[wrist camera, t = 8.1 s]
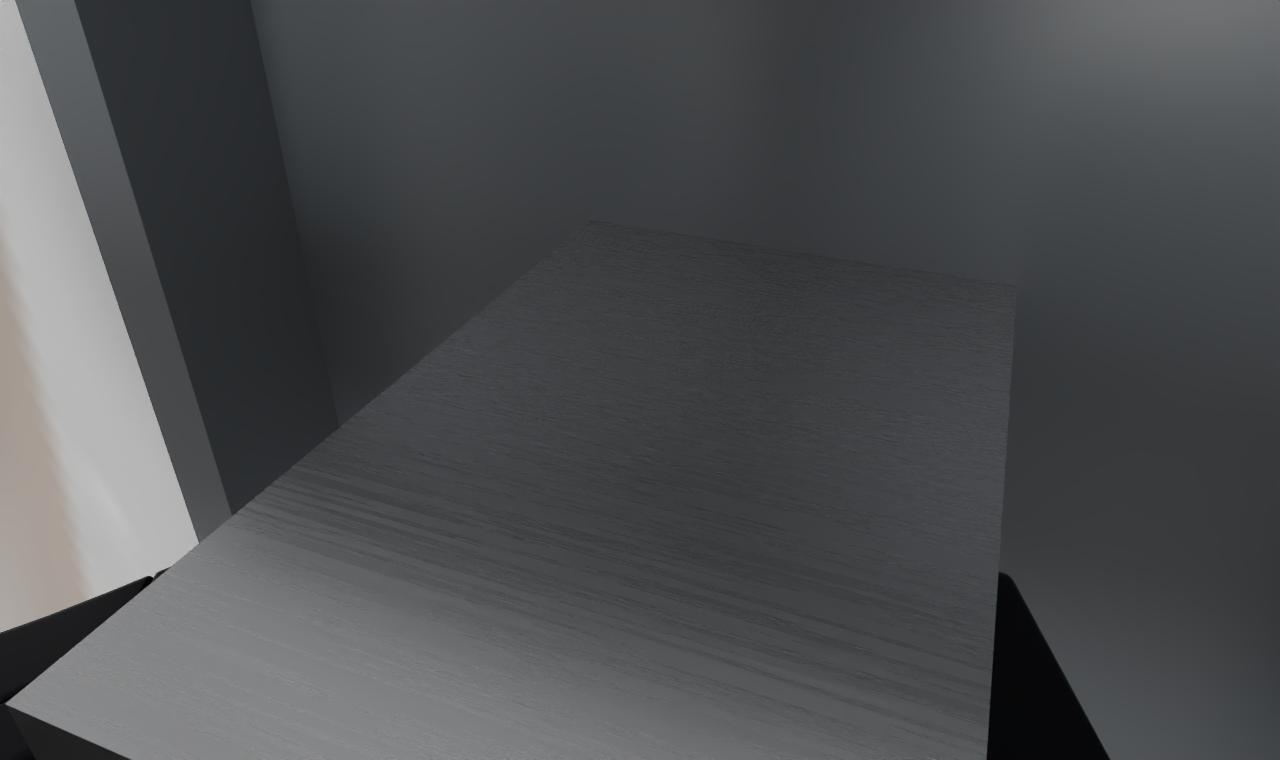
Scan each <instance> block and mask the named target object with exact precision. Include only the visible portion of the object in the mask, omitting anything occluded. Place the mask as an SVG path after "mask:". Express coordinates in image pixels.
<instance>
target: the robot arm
mask: <svg viewBox="0 0 1280 760" xmlns="http://www.w3.org/2000/svg"><path fill="white" fill-rule="evenodd" d="M169 568H170V567H169ZM169 568H166V569H164V570H161V571H159V572H157V573H156V575H155V576H154V578H153V577H151V576H146V577H144V578H142V579H139V580H137V581H134V582H132V583H130V584H127V585H125V586H122V587H120V588H117V589H115V590H112V591H110V592H107V593H105V594H102V595H100V596H97V597H95V598H92V599H90V600H87V601H84V602H82V603H79V604H77V605H74V606H72V607H69V608H67V609H64V610H61V611H59V612H56V613H54V614H51V615H49V616H46V617H43V618H40V619H38V620H35V621H32V622H29V623H27V624H24V625H21V626H18V627H15V628H13V629H10V630H7V631H4V632H1V633H0V760H36V758H35V756H34V755H33V753H32V751H31V749H30V748H29V746H28V744H27V742H26V740H25V739H24V737H23V735H22V733H21V732H20V730H19V728H18V726H17V724H16V723H15V721H14V719H13V717H12V716H11V714H10V712H9V710H8V708H7V707H6V705H5V704H6V703H7V702H8V701H9V700H10V699H12V698H13V697H14V696H15V695H17V694H18V693H19V692H20V691H21V690H23V689H24V688H25V687H26V686H27V685H29V684H30V683H31V682H32V681H33V680H35V679H36V678H37V677H38V676H40V675H41V674H42V673H43V672H44V671H46V670H47V669H48V668H49V667H50V666H52V665H53V664H54V663H55V662H56V661H58V660H59V659H60V658H61V657H63V656H64V655H65V654H66V653H67V652H69V651H70V650H71V649H72V648H73V647H75V646H76V645H77V644H78V643H79V642H81V641H82V640H83V639H84V638H86V637H87V636H88V635H89V634H90V633H92V632H93V631H94V630H95V629H96V628H98V627H99V626H100V625H101V624H102V623H104V622H105V621H106V620H107V619H109V618H110V617H111V616H112V615H113V614H115V613H116V612H117V611H118V610H119V609H121V608H122V607H123V606H124V605H125V604H127V603H128V602H129V601H130V600H132V599H133V598H134V597H135V596H136V595H138V594H139V593H140V592H141V591H142V590H144V589H145V588H146V587H147V586H148V585H150V584H151V583H152V582H153V581H155V580H156V579H157V578H158V577H159V576H161V575H162V574H163V573H164V572H165V571H167V570H168V569H169ZM986 760H1110V758H1109V756H1108V754H1107V752H1106V750H1105V749H1104V747H1103V745H1102V743H1101V741H1100V739H1099V737H1098V736H1097V734H1096V732H1095V730H1094V728H1093V726H1092V725H1091V723H1090V721H1089V719H1088V717H1087V715H1086V713H1085V712H1084V710H1083V708H1082V706H1081V704H1080V702H1079V700H1078V699H1077V697H1076V695H1075V693H1074V691H1073V689H1072V688H1071V686H1070V684H1069V682H1068V680H1067V678H1066V676H1065V675H1064V673H1063V671H1062V669H1061V667H1060V665H1059V664H1058V662H1057V660H1056V658H1055V656H1054V654H1053V652H1052V651H1051V649H1050V647H1049V645H1048V643H1047V641H1046V639H1045V638H1044V636H1043V634H1042V632H1041V630H1040V628H1039V627H1038V625H1037V623H1036V621H1035V619H1034V617H1033V615H1032V614H1031V612H1030V610H1029V608H1028V606H1027V604H1026V603H1025V601H1024V599H1023V597H1022V595H1021V593H1020V591H1019V590H1018V588H1017V586H1016V584H1015V582H1014V581H1013V579H1012V578H1011V577H1010V576H1009V575H1007V574H1005V573H1002V572H998V587H997V602H996V618H995V633H994V649H993V664H992V680H991V695H990V711H989V726H988V742H987V758H986Z"/></svg>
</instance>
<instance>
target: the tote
mask: <svg viewBox="0 0 1280 760" xmlns="http://www.w3.org/2000/svg"><path fill="white" fill-rule="evenodd" d="M15 1H16V4H17V7H18V10H19V13H20V16H21V19H22V22H23V25H24V28H25V31H26V33H27V36H28V39H29V42H30V45H31V48H32V51H33V54H34V57H35V60H36V63H37V66H38V69H39V72H40V75H41V78H42V81H43V84H44V87H45V90H46V93H47V96H48V98H49V101H50V104H51V107H52V110H53V113H54V116H55V119H56V122H57V125H58V128H59V131H60V134H61V137H62V140H63V143H64V146H65V149H66V152H67V155H68V158H69V161H70V163H71V166H72V169H73V172H74V175H75V178H76V181H77V184H78V187H79V190H80V193H81V196H82V199H83V202H84V205H85V208H86V211H87V214H88V217H89V220H90V223H91V225H92V228H93V231H94V234H95V237H96V240H97V243H98V246H99V249H100V252H101V255H102V258H103V261H104V264H105V267H106V270H107V273H108V276H109V279H110V282H111V285H112V288H113V290H114V293H115V296H116V299H117V302H118V305H119V308H120V311H121V314H122V317H123V320H124V323H125V326H126V329H127V332H128V335H129V338H130V341H131V344H132V347H133V350H134V352H135V355H136V358H137V361H138V364H139V367H140V370H141V373H142V376H143V379H144V382H145V385H146V388H147V391H148V394H149V397H150V400H151V403H152V406H153V409H154V412H155V415H156V417H157V420H158V423H159V426H160V429H161V432H162V435H163V438H164V441H165V444H166V447H167V450H168V453H169V456H170V459H171V462H172V465H173V468H174V471H175V474H176V477H177V479H178V482H179V485H180V488H181V491H182V494H183V497H184V500H185V503H186V506H187V509H188V512H189V515H190V518H191V521H192V524H193V527H194V530H195V533H196V536H197V539H198V542H199V543H201V542H202V541H203V540H204V539H205V538H207V537H208V536H209V535H210V534H211V533H213V532H214V531H215V530H216V529H217V528H219V527H220V526H221V525H222V524H224V523H225V522H226V521H227V520H228V519H230V518H231V517H232V516H233V515H234V514H236V513H237V512H238V511H239V510H240V509H242V508H243V507H244V506H245V505H247V504H248V503H249V502H250V501H251V500H253V499H254V498H255V497H256V496H257V495H259V494H260V493H261V492H262V491H263V490H265V489H266V488H267V487H268V486H270V485H271V484H272V483H273V482H274V481H276V480H277V479H278V478H279V477H280V476H282V475H283V474H284V473H285V472H286V471H288V470H289V469H290V468H291V467H293V466H294V465H295V464H296V463H297V462H299V461H300V460H301V459H302V458H303V457H305V456H306V455H307V454H308V453H309V452H311V451H312V450H313V449H314V448H316V447H317V446H318V445H319V444H320V443H322V442H323V441H324V440H325V439H326V438H328V437H329V436H330V435H331V434H332V433H334V432H335V431H336V430H337V429H339V428H340V427H341V426H342V425H343V424H345V423H346V422H347V421H348V420H349V419H351V418H352V417H353V416H354V415H355V414H357V413H358V412H359V411H360V410H362V409H363V408H364V407H365V406H366V405H368V404H369V403H370V402H371V401H372V400H374V399H375V398H376V397H377V396H378V395H380V394H381V393H382V392H383V391H385V390H386V389H387V388H388V387H389V386H391V385H392V384H393V383H394V382H395V381H397V380H398V379H399V378H400V377H401V376H403V375H404V374H405V373H406V372H408V371H409V370H410V369H411V368H412V367H414V366H415V365H416V364H417V363H418V362H420V361H421V360H422V359H423V358H424V357H426V356H427V355H428V354H429V353H431V352H432V351H433V350H434V349H435V348H437V347H438V346H439V345H440V344H441V343H443V342H444V341H445V340H446V339H447V338H449V337H450V336H451V335H452V334H454V333H455V332H456V331H457V330H458V329H460V328H461V327H462V326H463V325H464V324H466V323H467V322H468V321H469V320H470V319H472V318H473V317H474V316H475V315H477V314H478V313H479V312H480V311H481V310H483V309H484V308H485V307H486V306H487V305H489V304H490V303H491V302H492V301H493V300H495V299H496V298H497V297H498V296H500V295H501V294H502V293H503V292H504V291H506V290H507V289H508V288H509V287H510V286H512V285H513V284H514V283H515V282H516V281H518V280H519V279H520V278H521V277H522V276H524V275H525V274H526V273H527V272H529V271H530V270H531V269H532V268H533V267H535V266H536V265H537V264H538V263H539V262H541V261H542V260H543V259H544V258H545V257H547V256H548V255H549V254H550V253H552V252H553V251H554V250H555V249H556V248H558V247H559V246H560V245H561V244H562V243H564V242H565V241H566V240H567V239H568V238H570V237H571V236H572V235H573V234H575V233H576V232H577V231H578V230H579V229H581V228H582V227H583V226H584V225H585V224H587V223H588V222H589V221H590V220H595V221H602V222H608V223H615V224H621V225H628V226H635V227H641V228H648V229H654V230H661V231H667V232H674V233H680V234H687V235H693V236H700V237H706V238H713V239H719V240H726V241H732V242H739V243H745V244H752V245H758V246H765V247H771V248H778V249H784V250H791V251H797V252H804V253H810V254H817V255H823V256H830V257H836V258H843V259H849V260H856V261H862V262H869V263H876V264H882V265H889V266H895V267H902V268H908V269H915V270H921V271H928V272H934V273H941V274H947V275H954V276H960V277H967V278H973V279H980V280H986V281H993V282H999V283H1006V284H1012V285H1017V292H1016V307H1015V323H1014V338H1013V354H1012V369H1011V385H1010V400H1009V416H1008V431H1007V447H1006V462H1005V478H1004V494H1003V509H1002V525H1001V540H1000V556H999V571H998V572H1002V573H1005V574H1007V575H1009V576H1010V577H1011V578H1012V579H1013V581H1014V582H1015V584H1016V586H1017V588H1018V590H1019V591H1020V593H1021V595H1022V597H1023V599H1024V601H1025V603H1026V604H1027V606H1028V608H1029V610H1030V612H1031V614H1032V615H1033V617H1034V619H1035V621H1036V623H1037V625H1038V627H1039V628H1040V630H1041V632H1042V634H1043V636H1044V638H1045V639H1046V641H1047V643H1048V645H1049V647H1050V649H1051V651H1052V652H1053V654H1054V656H1055V658H1056V660H1057V662H1058V664H1059V665H1060V667H1061V669H1062V671H1063V673H1064V675H1065V676H1066V678H1067V680H1068V682H1069V684H1070V686H1071V688H1072V689H1073V691H1074V693H1075V695H1076V697H1077V699H1078V700H1079V702H1080V704H1081V706H1082V708H1083V710H1084V712H1085V713H1086V715H1087V717H1088V719H1089V721H1090V723H1091V725H1092V726H1093V728H1094V730H1095V732H1096V734H1097V736H1098V737H1099V739H1100V741H1101V743H1102V745H1103V747H1104V749H1105V750H1106V752H1107V754H1108V756H1109V758H1110V760H1280V0H15Z"/></svg>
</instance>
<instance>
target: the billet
mask: <svg viewBox="0 0 1280 760" xmlns="http://www.w3.org/2000/svg"><path fill="white" fill-rule="evenodd" d="M1016 292H1017V285H1012V284H1006V283H999V282H993V281H986V280H980V279H973V278H967V277H960V276H954V275H947V274H941V273H934V272H928V271H921V270H915V269H908V268H902V267H895V266H889V265H882V264H876V263H869V262H862V261H856V260H849V259H843V258H836V257H830V256H823V255H817V254H810V253H804V252H797V251H791V250H784V249H778V248H771V247H765V246H758V245H752V244H745V243H739V242H732V241H726V240H719V239H713V238H706V237H700V236H693V235H687V234H680V233H674V232H667V231H661V230H654V229H648V228H641V227H635V226H628V225H621V224H615V223H608V222H602V221H595V220H590V221H589V222H588V223H587V224H585V225H584V226H583V227H582V228H581V229H579V230H578V231H577V232H576V233H575V234H573V235H572V236H571V237H570V238H568V239H567V240H566V241H565V242H564V243H562V244H561V245H560V246H559V247H558V248H556V249H555V250H554V251H553V252H552V253H550V254H549V255H548V256H547V257H545V258H544V259H543V260H542V261H541V262H539V263H538V264H537V265H536V266H535V267H533V268H532V269H531V270H530V271H529V272H527V273H526V274H525V275H524V276H522V277H521V278H520V279H519V280H518V281H516V282H515V283H514V284H513V285H512V286H510V287H509V288H508V289H507V290H506V291H504V292H503V293H502V294H501V295H500V296H498V297H497V298H496V299H495V300H493V301H492V302H491V303H490V304H489V305H487V306H486V307H485V308H484V309H483V310H481V311H480V312H479V313H478V314H477V315H475V316H474V317H473V318H472V319H470V320H469V321H468V322H467V323H466V324H464V325H463V326H462V327H461V328H460V329H458V330H457V331H456V332H455V333H454V334H452V335H451V336H450V337H449V338H447V339H446V340H445V341H444V342H443V343H441V344H440V345H439V346H438V347H437V348H435V349H434V350H433V351H432V352H431V353H429V354H428V355H427V356H426V357H424V358H423V359H422V360H421V361H420V362H418V363H417V364H416V365H415V366H414V367H412V368H411V369H410V370H409V371H408V372H406V373H405V374H404V375H403V376H401V377H400V378H399V379H398V380H397V381H395V382H394V383H393V384H392V385H391V386H389V387H388V388H387V389H386V390H385V391H383V392H382V393H381V394H380V395H378V396H377V397H376V398H375V399H374V400H372V401H371V402H370V403H369V404H368V405H366V406H365V407H364V408H363V409H362V410H360V411H359V412H358V413H357V414H355V415H354V416H353V417H352V418H351V419H349V420H348V421H347V422H346V423H345V424H343V425H342V426H341V427H340V428H339V429H337V430H336V431H335V432H334V433H332V434H331V435H330V436H329V437H328V438H326V439H325V440H324V441H323V442H322V443H320V444H319V445H318V446H317V447H316V448H314V449H313V450H312V451H311V452H309V453H308V454H307V455H306V456H305V457H303V458H302V459H301V460H300V461H299V462H297V463H296V464H295V465H294V466H293V467H291V468H290V469H289V470H288V471H286V472H285V473H284V474H283V475H282V476H280V477H279V478H278V479H277V480H276V481H274V482H273V483H272V484H271V485H270V486H268V487H267V488H266V489H265V490H263V491H262V492H261V493H260V494H259V495H257V496H256V497H255V498H254V499H253V500H251V501H250V502H249V503H248V504H247V505H245V506H244V507H243V508H242V509H240V510H239V511H238V512H237V513H236V514H234V515H233V516H232V517H231V518H230V519H228V520H227V521H226V522H225V523H224V524H222V525H221V526H220V527H219V528H217V529H216V530H215V531H214V532H213V533H211V534H210V535H209V536H208V537H207V538H205V539H204V540H203V541H202V542H201V543H199V544H198V545H197V546H196V547H194V548H193V549H192V550H191V551H190V552H188V553H187V554H186V555H185V556H184V557H182V558H181V559H180V560H179V561H178V562H176V563H175V564H174V565H173V566H171V567H170V568H169V569H168V570H167V571H165V572H164V573H163V574H162V575H161V576H159V577H158V578H157V579H156V580H155V581H153V582H152V583H151V584H150V585H148V586H147V587H146V588H145V589H144V590H142V591H141V592H140V593H139V594H138V595H136V596H135V597H134V598H133V599H132V600H130V601H129V602H128V603H127V604H125V605H124V606H123V607H122V608H121V609H119V610H118V611H117V612H116V613H115V614H113V615H112V616H111V617H110V618H109V619H107V620H106V621H105V622H104V623H102V624H101V625H100V626H99V627H98V628H96V629H95V630H94V631H93V632H92V633H90V634H89V635H88V636H87V637H86V638H84V639H83V640H82V641H81V642H79V643H78V644H77V645H76V646H75V647H73V648H72V649H71V650H70V651H69V652H67V653H66V654H65V655H64V656H63V657H61V658H60V659H59V660H58V661H56V662H55V663H54V664H53V665H52V666H50V667H49V668H48V669H47V670H46V671H44V672H43V673H42V674H41V675H40V676H38V677H37V678H36V679H35V680H33V681H32V682H31V683H30V684H29V685H27V686H26V687H25V688H24V689H23V690H21V691H20V692H19V693H18V694H17V695H15V696H14V697H13V698H12V699H10V700H9V701H8V702H7V703H6V704H5V705H6V707H7V708H8V710H9V712H10V714H11V716H12V717H13V719H14V721H15V723H16V724H17V726H18V728H19V730H20V732H21V733H22V735H23V737H24V739H25V740H26V742H27V744H28V746H29V748H30V749H31V751H32V753H33V755H34V756H35V758H36V760H986V758H987V742H988V726H989V711H990V695H991V680H992V664H993V649H994V633H995V618H996V602H997V587H998V571H999V556H1000V540H1001V525H1002V509H1003V494H1004V478H1005V462H1006V447H1007V431H1008V416H1009V400H1010V385H1011V369H1012V354H1013V338H1014V323H1015V307H1016Z"/></svg>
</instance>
